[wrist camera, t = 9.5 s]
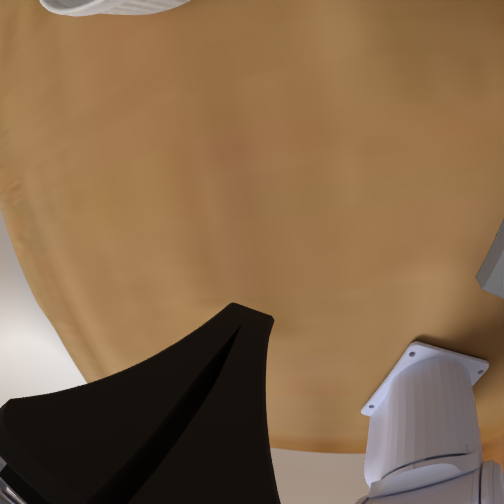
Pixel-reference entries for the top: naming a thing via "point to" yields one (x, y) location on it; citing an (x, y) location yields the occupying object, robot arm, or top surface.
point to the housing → (494, 267)
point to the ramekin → (110, 6)
